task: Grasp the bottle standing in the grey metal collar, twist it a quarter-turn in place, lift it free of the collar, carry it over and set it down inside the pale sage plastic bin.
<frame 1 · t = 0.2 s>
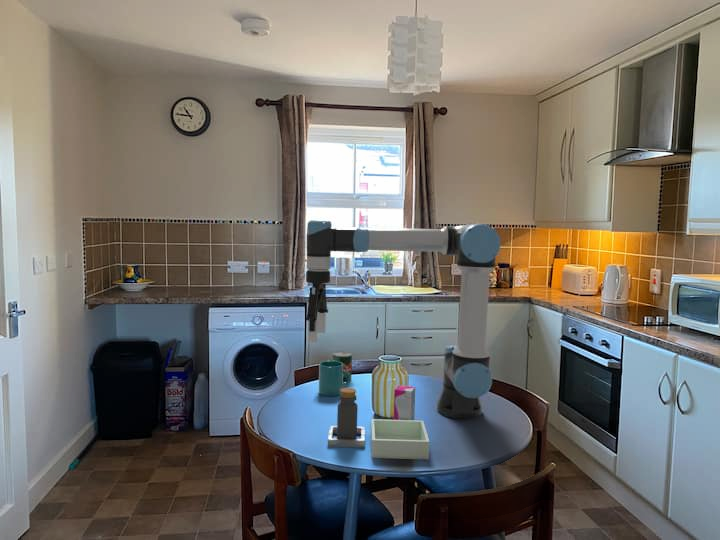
hand: (316, 337, 167), 28 cm above the table, fingers open, 13 cm apart
bottle: (346, 440, 156), resting in collar
canned tomato: (341, 380, 216), on the table
cup: (334, 393, 199), on the table
supplement box: (403, 423, 171), on the table
collar: (346, 439, 156), on the table
bin: (398, 446, 152), on the table
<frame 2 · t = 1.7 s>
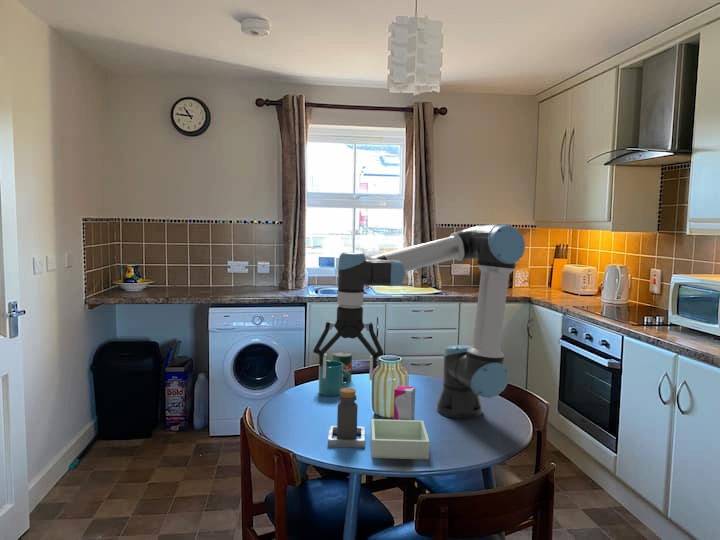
hand: (347, 378, 155), 19 cm above the table, fingers open, 13 cm apart
nothing on the table moved.
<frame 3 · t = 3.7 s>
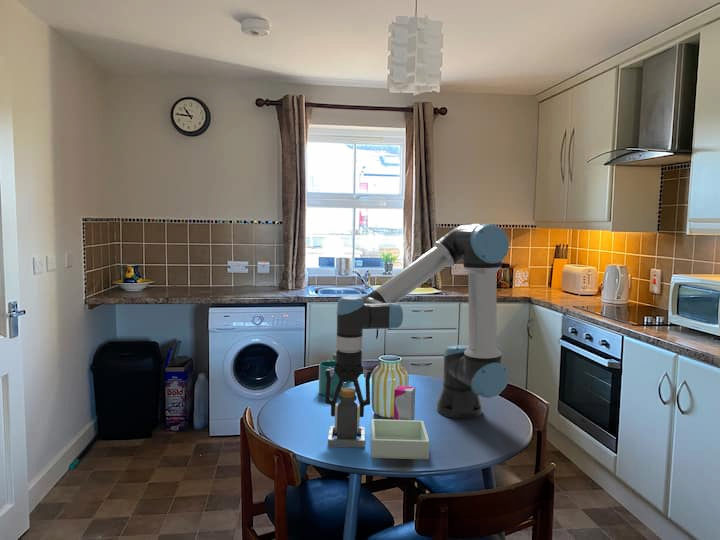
hand: (347, 426, 156), 4 cm above the table, fingers closed on bottle, 6 cm apart
bottle: (346, 440, 156), resting in collar, touching gripper
everything else where it was.
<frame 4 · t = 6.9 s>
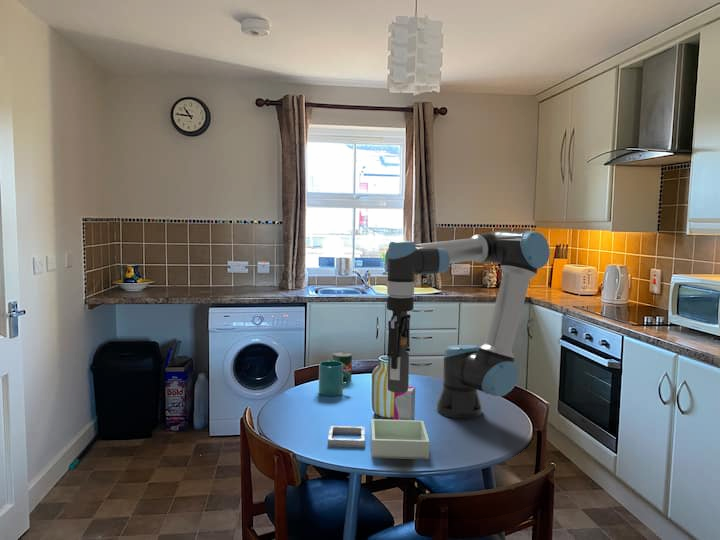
hand: (398, 376, 151), 21 cm above the table, fingers closed on bottle, 6 cm apart
bottle: (397, 390, 151), point 16 cm above the table, touching gripper
everything else where it was.
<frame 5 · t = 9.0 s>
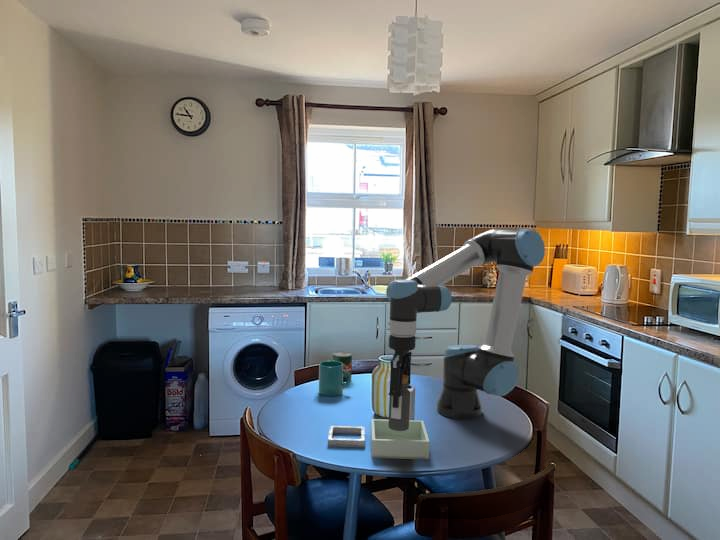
hand: (399, 414, 152), 10 cm above the table, fingers closed on bottle, 6 cm apart
bottle: (398, 428, 152), point 6 cm above the table, touching gripper
everything else where it was.
when the fingers open (6 cm above the table, at t = 10.2 s): bottle drops 1 cm, resting on bin.
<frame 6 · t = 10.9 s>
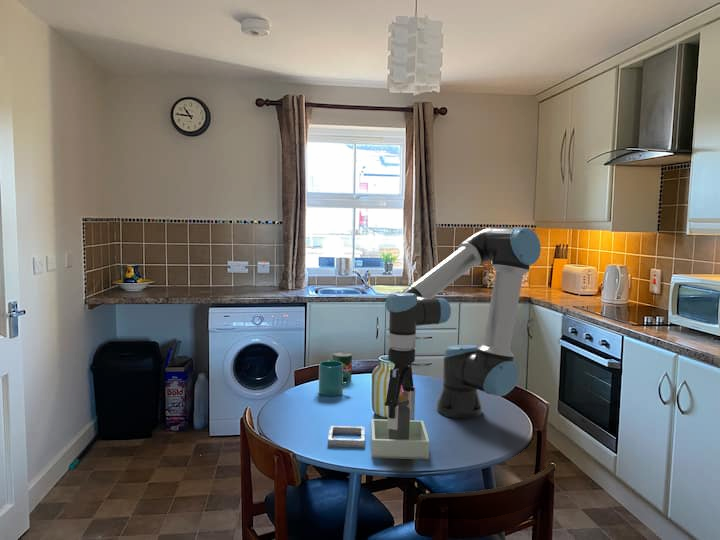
hand: (399, 420, 152), 8 cm above the table, fingers open, 13 cm apart
bottle: (398, 445, 152), resting on bin
everything else where it was.
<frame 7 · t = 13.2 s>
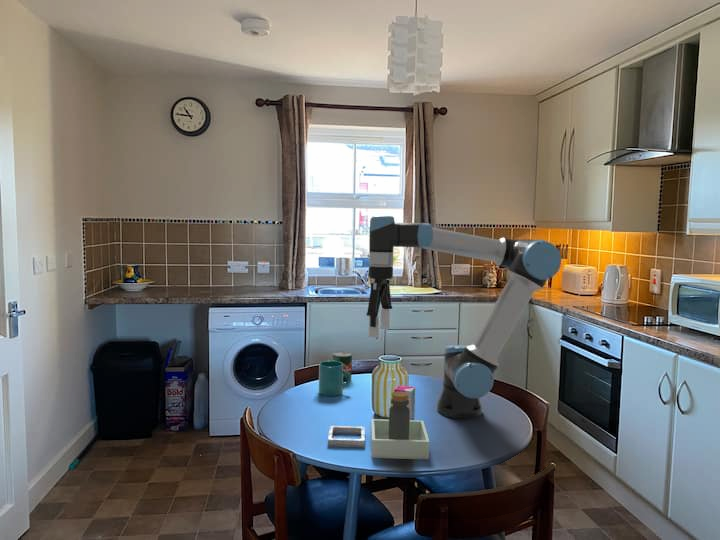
hand: (379, 333, 167), 30 cm above the table, fingers open, 13 cm apart
nothing on the table moved.
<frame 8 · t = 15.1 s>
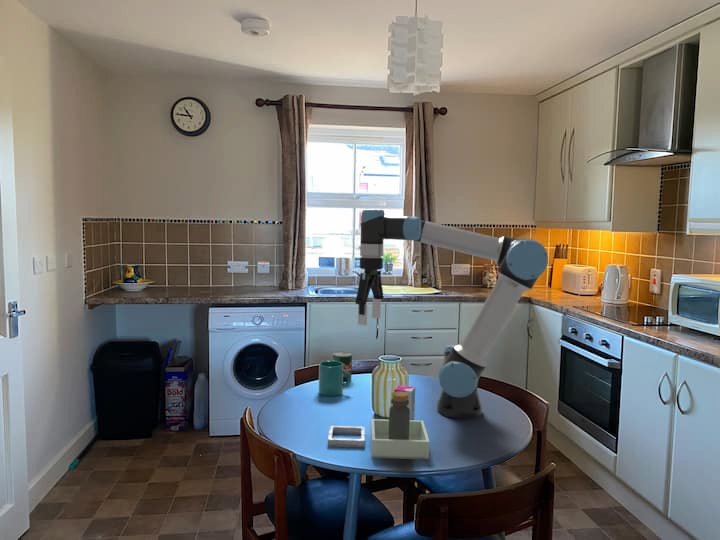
hand: (369, 321, 175), 32 cm above the table, fingers open, 13 cm apart
nothing on the table moved.
at the end: bottle inside the target area on the bin (0.0 cm from its centre), point 0.4 cm above the bin's base; the gripper is holding nothing; bottle tilted 0° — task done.
